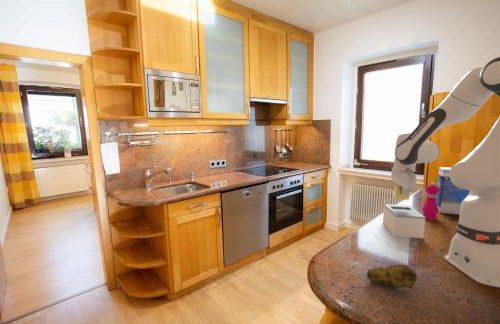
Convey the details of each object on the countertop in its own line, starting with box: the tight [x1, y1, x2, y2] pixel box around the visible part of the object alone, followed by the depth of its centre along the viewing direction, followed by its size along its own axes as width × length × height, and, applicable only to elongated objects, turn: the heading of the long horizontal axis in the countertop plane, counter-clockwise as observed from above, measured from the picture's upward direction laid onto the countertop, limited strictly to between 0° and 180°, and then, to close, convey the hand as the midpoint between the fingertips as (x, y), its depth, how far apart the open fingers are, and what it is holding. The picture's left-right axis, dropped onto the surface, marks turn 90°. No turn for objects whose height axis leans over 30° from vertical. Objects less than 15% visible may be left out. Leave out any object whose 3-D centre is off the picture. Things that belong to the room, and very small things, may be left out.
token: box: [393, 185, 411, 201], centre depth 120 cm, size 2×6×6 cm, turn 78°
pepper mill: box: [421, 181, 439, 221], centre depth 134 cm, size 7×7×20 cm
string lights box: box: [436, 166, 470, 216], centre depth 142 cm, size 13×8×26 cm, turn 68°
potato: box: [366, 264, 418, 289], centre depth 78 cm, size 8×13×8 cm, turn 40°
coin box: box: [382, 203, 426, 239], centre depth 119 cm, size 16×12×10 cm
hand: (401, 194), depth 120 cm, fingers closed on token, 2 cm apart
